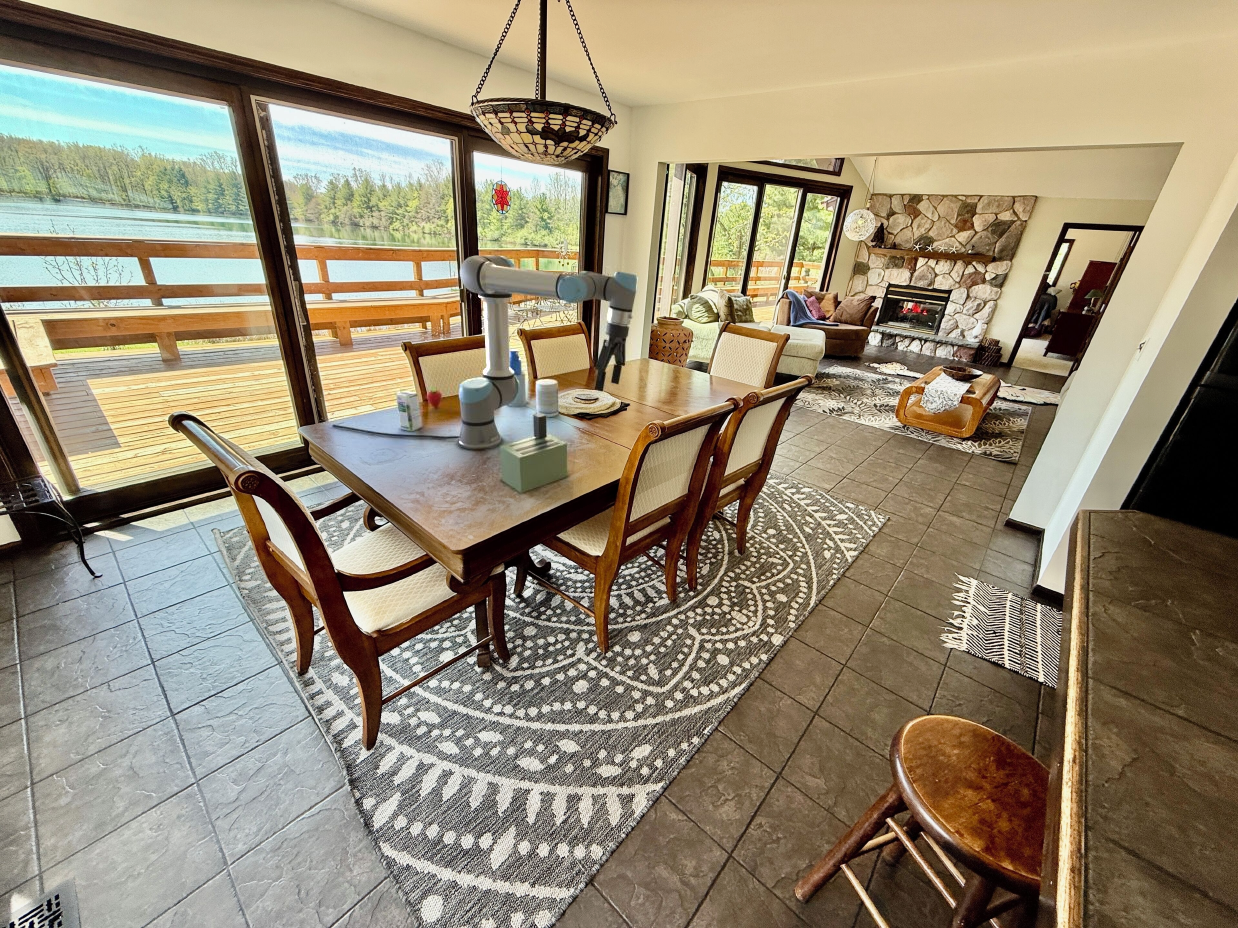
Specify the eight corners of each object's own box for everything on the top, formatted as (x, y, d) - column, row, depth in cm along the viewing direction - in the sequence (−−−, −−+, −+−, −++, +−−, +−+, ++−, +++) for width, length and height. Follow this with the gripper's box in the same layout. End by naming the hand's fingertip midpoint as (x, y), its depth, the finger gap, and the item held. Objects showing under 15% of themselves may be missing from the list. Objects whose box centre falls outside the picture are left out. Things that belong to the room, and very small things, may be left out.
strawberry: (425, 410, 209) (422, 388, 205) (432, 405, 216) (430, 383, 212) (438, 411, 209) (435, 389, 205) (445, 406, 216) (443, 384, 212)
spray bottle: (530, 403, 225) (528, 349, 214) (516, 407, 218) (514, 352, 207) (515, 399, 229) (513, 346, 218) (502, 403, 222) (499, 349, 212)
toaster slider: (539, 439, 155) (538, 417, 152) (533, 436, 157) (533, 414, 154) (546, 437, 157) (546, 415, 154) (541, 434, 159) (540, 412, 155)
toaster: (521, 493, 147) (519, 457, 142) (501, 480, 154) (499, 445, 149) (567, 476, 159) (567, 442, 154) (547, 465, 166) (546, 432, 161)
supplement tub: (562, 415, 211) (562, 383, 205) (542, 419, 206) (541, 386, 200) (552, 409, 219) (551, 377, 212) (533, 412, 214) (532, 380, 207)
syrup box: (400, 429, 189) (394, 393, 183) (411, 424, 194) (406, 389, 188) (411, 431, 187) (406, 396, 181) (422, 427, 192) (417, 392, 186)
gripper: (613, 328, 143) (602, 396, 151) (641, 323, 165) (630, 383, 173) (591, 323, 145) (580, 390, 154) (622, 319, 167) (611, 378, 175)
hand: (607, 386), depth 163 cm, fingers open, 13 cm apart
